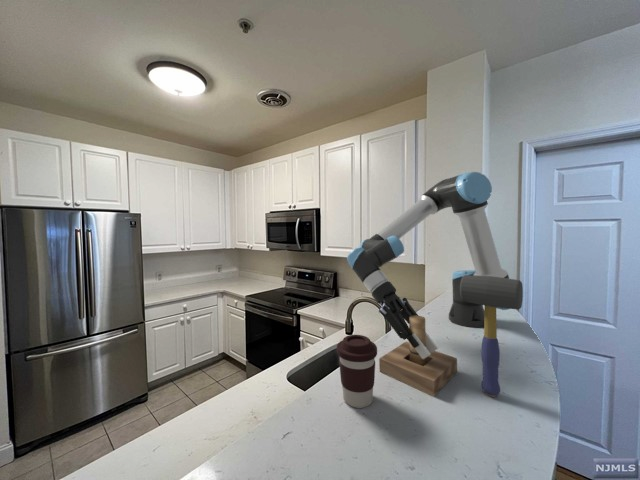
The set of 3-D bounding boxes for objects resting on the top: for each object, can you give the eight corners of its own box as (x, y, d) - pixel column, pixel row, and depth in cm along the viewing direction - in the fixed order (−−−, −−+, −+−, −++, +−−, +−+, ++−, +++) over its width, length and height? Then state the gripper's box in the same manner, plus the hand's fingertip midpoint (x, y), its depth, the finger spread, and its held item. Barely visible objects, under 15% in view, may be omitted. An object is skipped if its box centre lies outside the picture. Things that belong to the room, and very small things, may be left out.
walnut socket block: (406, 352, 85) (406, 341, 85) (457, 371, 73) (457, 358, 73) (379, 371, 74) (379, 358, 74) (434, 396, 62) (433, 381, 62)
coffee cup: (364, 382, 69) (363, 329, 68) (386, 406, 60) (385, 344, 59) (331, 392, 65) (330, 335, 65) (349, 418, 56) (348, 352, 56)
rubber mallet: (524, 398, 61) (524, 276, 60) (519, 414, 56) (519, 281, 55) (467, 377, 70) (466, 271, 69) (458, 390, 65) (457, 275, 64)
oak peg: (413, 358, 77) (413, 314, 76) (429, 364, 74) (428, 317, 73) (406, 364, 74) (405, 317, 73) (421, 370, 70) (421, 321, 70)
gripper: (387, 289, 90) (434, 349, 79) (357, 299, 78) (406, 371, 67) (400, 276, 86) (452, 337, 74) (370, 284, 74) (426, 359, 63)
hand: (430, 353), depth 71 cm, fingers closed on oak peg, 4 cm apart
